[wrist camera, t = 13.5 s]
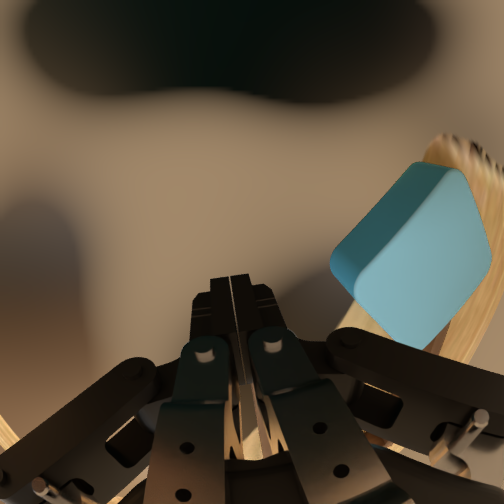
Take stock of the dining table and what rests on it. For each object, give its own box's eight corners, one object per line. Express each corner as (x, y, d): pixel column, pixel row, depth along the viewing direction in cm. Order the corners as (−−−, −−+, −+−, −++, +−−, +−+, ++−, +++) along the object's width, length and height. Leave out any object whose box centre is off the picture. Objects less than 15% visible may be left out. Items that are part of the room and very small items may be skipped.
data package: (389, 332, 24) (464, 246, 22) (413, 360, 20) (495, 263, 18) (320, 261, 20) (419, 152, 18) (345, 290, 16) (458, 159, 14)
